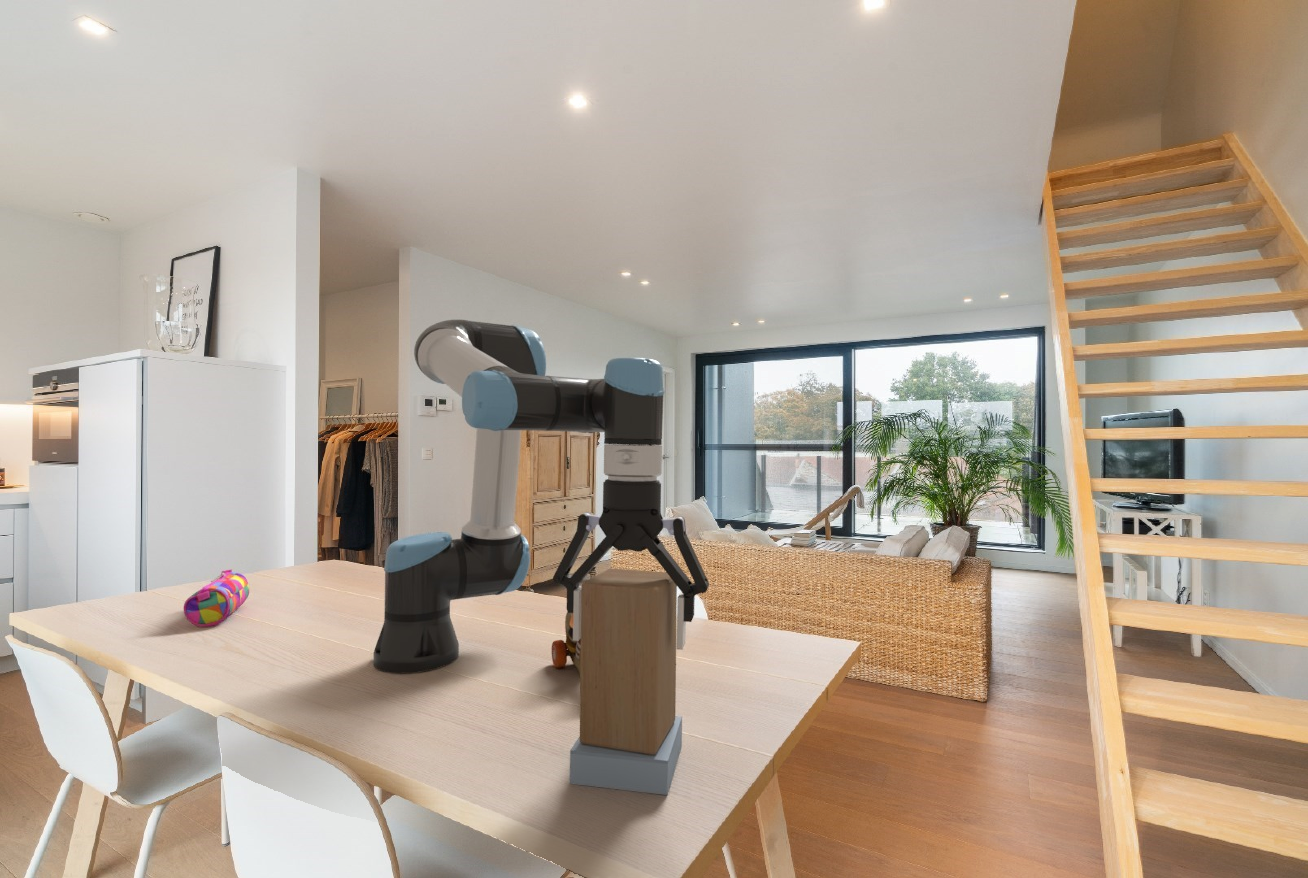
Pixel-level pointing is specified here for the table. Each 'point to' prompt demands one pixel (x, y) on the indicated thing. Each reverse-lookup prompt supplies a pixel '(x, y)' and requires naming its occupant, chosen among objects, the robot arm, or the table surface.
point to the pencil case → (217, 599)
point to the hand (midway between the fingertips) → (629, 642)
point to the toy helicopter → (567, 647)
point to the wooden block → (628, 659)
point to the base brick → (627, 765)
